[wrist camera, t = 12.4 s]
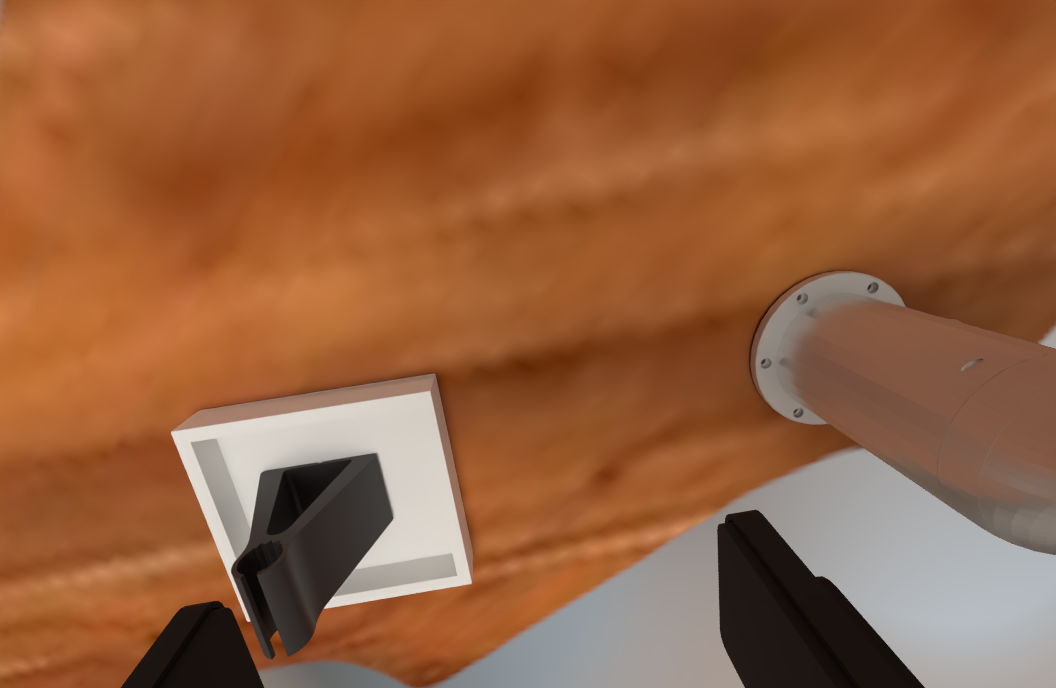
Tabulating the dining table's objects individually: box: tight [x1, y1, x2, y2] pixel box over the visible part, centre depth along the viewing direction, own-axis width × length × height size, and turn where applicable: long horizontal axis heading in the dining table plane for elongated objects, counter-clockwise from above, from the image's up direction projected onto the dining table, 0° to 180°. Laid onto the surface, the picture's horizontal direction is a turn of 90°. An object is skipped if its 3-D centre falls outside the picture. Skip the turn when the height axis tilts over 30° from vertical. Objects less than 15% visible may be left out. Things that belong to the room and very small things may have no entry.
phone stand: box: [231, 453, 394, 659], centre depth 33 cm, size 9×6×12 cm, turn 98°
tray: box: [171, 373, 473, 622], centre depth 38 cm, size 18×17×4 cm
